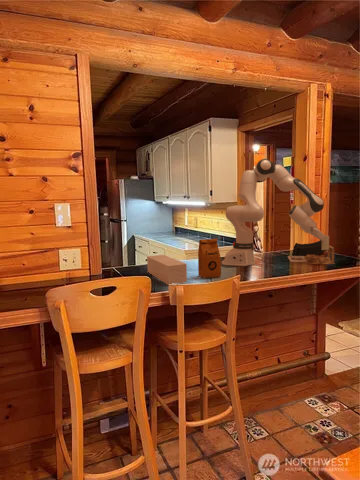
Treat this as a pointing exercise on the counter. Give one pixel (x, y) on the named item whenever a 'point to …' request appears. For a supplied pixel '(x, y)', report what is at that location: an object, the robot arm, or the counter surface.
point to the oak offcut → (311, 256)
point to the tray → (297, 260)
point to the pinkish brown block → (167, 269)
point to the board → (325, 244)
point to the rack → (326, 258)
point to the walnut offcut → (311, 260)
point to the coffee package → (209, 259)
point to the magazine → (308, 249)
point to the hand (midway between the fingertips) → (325, 241)
